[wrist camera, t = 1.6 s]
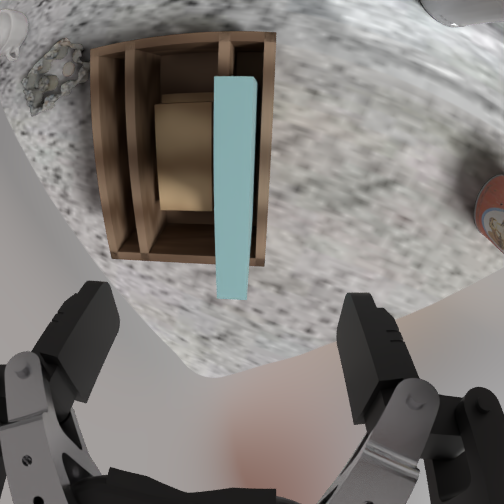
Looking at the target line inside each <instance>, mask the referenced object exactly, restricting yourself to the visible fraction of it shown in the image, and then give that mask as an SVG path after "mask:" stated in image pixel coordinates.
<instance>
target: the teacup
mask: <svg viewBox="0 0 504 504" xmlns="http://www.w3.org/2000/svg"><path fill="white" fill-rule="evenodd" d="M27 33H28V20H27V18H26V16H25V15H24V14H23V13H21V12H19V11H15V10H10V9H3V10H0V56H5V55H6V57H7V59H8V60H10V61H16V60H17V59H18V57H19V48H20V46H21V44H22V43H23V41H24V40H25V38H26V36H27ZM12 52H14V53H15V55H16V58H13V57H11V56H10V53H12Z"/></svg>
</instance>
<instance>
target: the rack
mask: <svg viewBox="0 0 504 504" xmlns="http://www.w3.org/2000/svg"><path fill="white" fill-rule="evenodd" d="M275 53H276V32H254V31H222V32H199V33H186V34H175V35H166V36H158V37H150V38H144V39H137V40H131V41H126V42H121V43H116V44H111V45H106V46H102V47H97V48H93V49H90V93H91V116H92V131H93V143H94V153H95V162H96V171H97V179H98V186H99V193H100V199H101V206H102V212H103V217H104V223H105V228H106V234H107V239H108V244H109V248H110V253H111V258H112V259H125V260H142V261H160V262H179V263H199V264H216V256H215V220H214V208H213V210H212V211H183V210H161V208H160V197H159V184H158V171H157V154H156V134H155V105H156V104H161V103H162V95H165V94H180V93H203V92H214V76H248V77H254V78H255V80H256V82H257V83H258V105H257V132H256V158H255V185H254V205H253V218H252V232H251V245H250V259H249V266H264V264H265V248H266V232H267V215H268V198H269V180H270V161H271V142H272V121H273V100H274V77H275Z"/></svg>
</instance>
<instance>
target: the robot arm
mask: <svg viewBox="0 0 504 504" xmlns="http://www.w3.org/2000/svg"><path fill="white" fill-rule="evenodd" d="M420 2H421V3H422V5H423V7H424V8H425V9H426V10H427V12H428V13H429V14H430V15H431V16H432V17H433V18H434V19H436V20H437V21H438V22H440V23H442V24H444V25H446V26H449V27H464V26H468V25H476V24H484V23H492V22H502V21H504V0H420ZM119 326H120V319H119V314H118V311H117V307H116V304H115V301H114V298H113V294H112V290H111V287H110V285H109V284H108V282H101V281H87V282H86V283H85V284H84V285H83V287H82V288H81V289H80V291H79V292H78V294H77V293H75V294H74V295H73V296H71V297H70V298H69V299H67V300H66V301H65V302H64V303H63V305H62V306H61V308H60V309H59V310H58V314H56V315H55V316H54V318H53V319H52V322H50V323H49V325H48V326H47V328H46V330H45V331H44V332H43V334H42V336H41V337H40V339H39V340H38V342H37V343H36V345H35V346H34V348H33V350H32V351H31V352H28V351H26V352H21V353H18V354H17V355H15V356H14V357H12V358H11V359H10V361H9V362H8V363H7V364H6V365H0V497H1V493H2V490H3V486H4V482H5V479H6V476H7V479H8V484H9V488H10V492H11V496H12V500H13V503H14V504H299V503H297V502H295V501H293V500H290V499H286V498H283V497H278V496H276V489H248V488H247V489H246V488H228V489H221V490H213V491H205V492H195V493H187V492H183V491H180V490H178V489H175V488H173V487H170V486H168V485H165V484H163V483H161V482H158V481H156V480H154V479H152V478H150V477H147V476H144V475H139V474H135V473H131V472H127V471H123V470H119V469H115V468H111V467H110V469H109V472H108V475H101V473H100V471H99V469H98V467H97V466H96V464H95V463H94V462H93V460H92V458H91V457H90V455H89V453H88V450H87V447H86V445H85V442H84V439H83V436H82V433H81V430H80V428H79V424H78V421H77V418H76V415H75V411H74V409H73V408H72V405H73V403H74V400H76V401H80V402H84V403H87V401H88V398H89V396H90V393H91V391H92V388H93V386H94V384H95V382H96V379H97V377H98V375H99V373H100V370H101V368H102V366H103V363H104V361H105V359H106V357H107V355H108V352H109V350H110V348H111V346H112V344H113V342H114V339H115V337H116V335H117V333H118V331H119ZM337 346H338V350H339V355H340V359H341V364H342V368H343V373H344V378H345V382H346V387H347V392H348V397H349V402H350V407H351V412H352V417H353V422H354V425H358V424H365V425H366V430H367V432H366V434H365V435H364V437H363V439H362V440H361V442H360V444H359V445H358V447H357V448H356V450H355V452H354V453H353V455H352V456H351V458H350V459H349V461H348V462H347V464H346V465H345V467H344V468H343V470H342V471H341V473H340V474H339V476H338V477H337V479H336V480H335V481H334V483H333V484H332V485H331V486H330V487H329V489H328V490H327V491H326V493H325V494H324V495H323V496H322V498H321V499H320V500H319V501H318V503H317V504H406V502H407V500H408V498H409V497H410V495H411V493H412V491H413V488H414V486H415V484H416V482H417V480H418V477H419V472H420V470H419V469H418V468H417V463H418V461H419V459H420V458H422V459H424V464H425V470H426V475H427V481H428V488H429V494H430V501H431V504H504V414H503V411H502V408H501V406H500V403H499V401H498V399H497V397H496V396H495V395H494V394H493V393H492V392H491V391H490V390H488V389H486V388H483V387H475V388H472V389H470V390H469V391H468V392H467V393H466V395H465V396H464V397H463V398H460V397H452V396H444V395H439V394H438V392H437V391H436V389H435V388H434V387H433V386H432V385H431V384H430V383H429V382H427V381H425V380H422V379H420V378H419V376H418V374H417V371H416V369H415V366H414V364H413V361H412V359H411V356H410V354H409V352H408V349H407V347H406V345H405V342H403V338H402V335H401V333H400V332H399V328H398V326H397V324H396V322H395V319H394V318H393V317H392V316H391V315H390V314H389V313H388V312H387V311H386V310H385V309H384V308H377V307H376V305H375V303H374V300H373V298H372V296H371V294H370V293H347V294H346V296H345V300H344V304H343V307H342V311H341V315H340V319H339V323H338V327H337Z"/></svg>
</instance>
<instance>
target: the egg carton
mask: <svg viewBox="0 0 504 504" xmlns="http://www.w3.org/2000/svg"><path fill="white" fill-rule="evenodd" d="M69 46H70V47H71V48H73V49H76V50H75V51H74V52H73V61H74V62H75V63H82V64H83V67H81V69H80V70H79V72H78V79H77V80H69V81H67V82H66V83H64V84H63V85H61V90H60V91H61V92H62V93H60V94H51V95H49V96H47V97H46V98H45V100H44V104H43V106H42V103H41V102H42V99H43V95H44V94H43V92H45V91H51V90H54V89H56V87H57V85H58V78H57V76H55V75H52V76H43V77H42V78H41V79H40V81H39V89H35V87H34V84H35V82H36V79H37V74H40V73H46V72H48V71H49V70H50V68H51V62H52V61H53V60H59V59H63V58H64V57H65V56H66V54H67V51H68V47H69ZM83 50H84V49H83V46H82V44H71V43H70V41H69V40H68V38H67V37H66V38H63V39H62V40H61V41H59V42H57V43H56V44H55V45H54V46H53V47H52V48H51V49H50V51H49V52H48V53H47V54H45V55H44V57H43V58H42V59H40V61H38V62H37V63H36V64H35V65H34V66H33V68H32V69H31V71H30V72H29V73H28V76H27V77H25V78H24V79H23V80H22V82H21V83H22V84H23V85H24V88H25V90H23V92H24V93H25V95H26V100H27V104H28V106H29V107H30V113H31V116H34V115H37V114H38V113H40V112H42V111H45V110H49V109H52V108H53V107H54V106H55V104H54V102H55V101H56V100H58V99H59V98H60V97H65V96H67V95H69V94H70V93H71V91H70V90H71V89H72V88H73V87H74V86H75V85H76V84H77V83H84V82H86V81H87V80H88V72H89V70H90V63H89V62H82V61H81V60H80V57H81V56H82V54H81V52H82V51H83ZM74 70H75V65H74V63H72V62H68V63H66V64H65V65H64V67H63V75H64V76H66V77H69V76H71V75H72V74H73V73H74Z"/></svg>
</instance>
